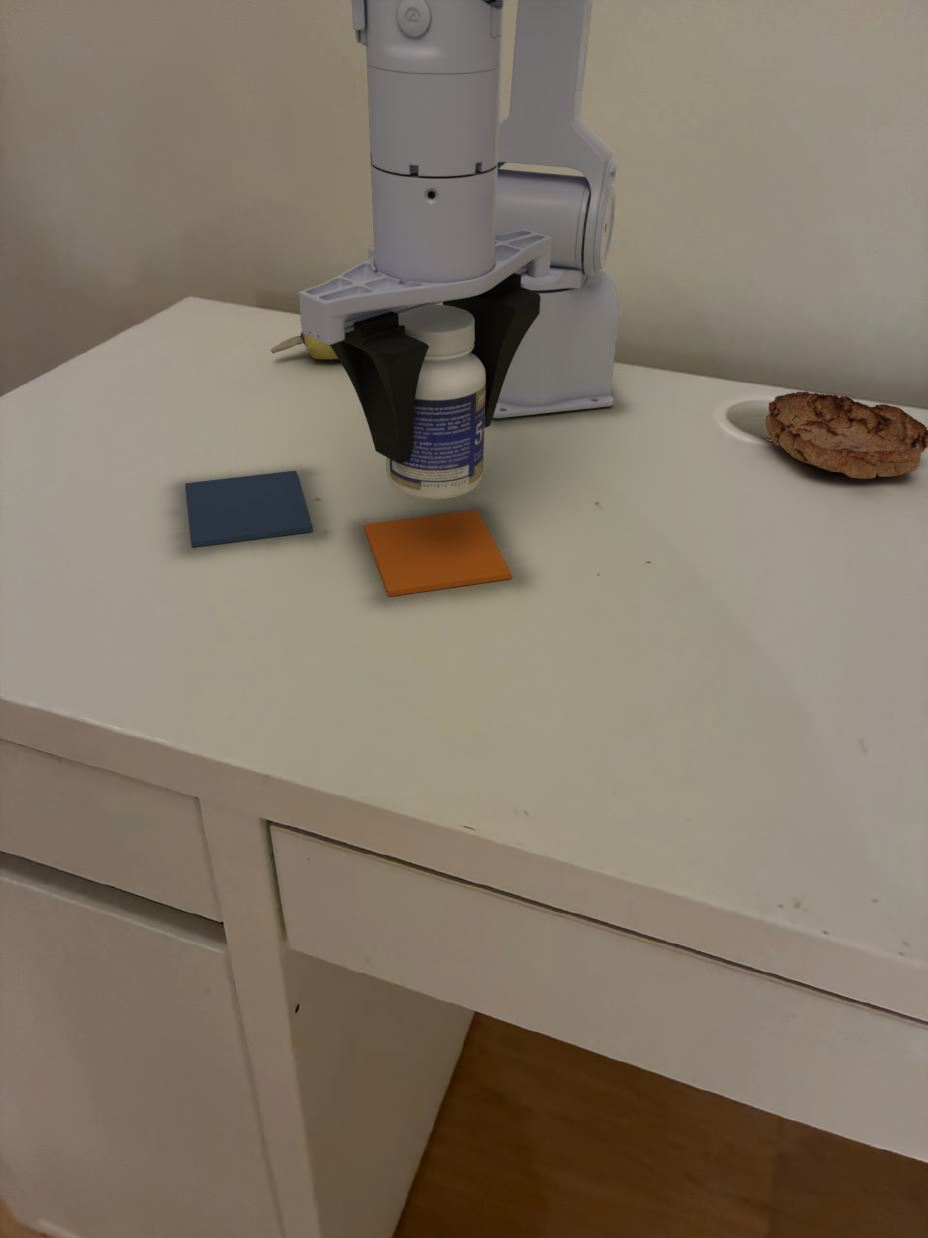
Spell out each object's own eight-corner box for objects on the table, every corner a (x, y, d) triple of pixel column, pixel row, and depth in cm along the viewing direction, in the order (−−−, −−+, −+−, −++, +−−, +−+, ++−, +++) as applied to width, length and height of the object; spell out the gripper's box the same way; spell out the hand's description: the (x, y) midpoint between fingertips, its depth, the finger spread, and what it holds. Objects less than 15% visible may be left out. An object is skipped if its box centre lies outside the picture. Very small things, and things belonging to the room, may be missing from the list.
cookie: (736, 402, 67) (730, 442, 69) (857, 466, 60) (846, 509, 62) (841, 372, 71) (832, 410, 73) (966, 428, 64) (953, 469, 66)
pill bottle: (495, 494, 53) (502, 332, 47) (399, 508, 51) (395, 343, 46) (466, 449, 57) (469, 295, 51) (376, 460, 55) (370, 304, 50)
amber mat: (476, 515, 61) (477, 509, 60) (511, 579, 55) (511, 573, 55) (364, 529, 59) (363, 524, 59) (388, 597, 54) (388, 591, 53)
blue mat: (296, 475, 64) (296, 470, 64) (312, 532, 59) (312, 526, 58) (185, 488, 63) (184, 482, 62) (191, 547, 57) (190, 541, 57)
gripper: (486, 126, 51) (479, 376, 59) (247, 171, 43) (278, 453, 51) (591, 150, 47) (568, 415, 55) (349, 205, 39) (365, 506, 47)
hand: (434, 437), depth 53 cm, fingers closed on pill bottle, 5 cm apart
